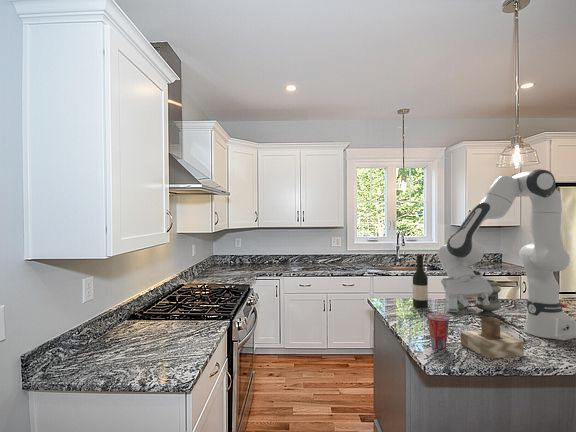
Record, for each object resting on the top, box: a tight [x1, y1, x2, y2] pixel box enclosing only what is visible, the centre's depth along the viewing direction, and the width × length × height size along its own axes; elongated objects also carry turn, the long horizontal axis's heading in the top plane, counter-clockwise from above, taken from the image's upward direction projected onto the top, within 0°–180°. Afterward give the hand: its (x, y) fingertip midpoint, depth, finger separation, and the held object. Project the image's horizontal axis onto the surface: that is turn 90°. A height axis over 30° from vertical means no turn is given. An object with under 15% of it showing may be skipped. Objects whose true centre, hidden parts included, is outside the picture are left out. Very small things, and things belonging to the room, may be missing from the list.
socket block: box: [460, 329, 525, 360], centre depth 137 cm, size 15×15×5 cm
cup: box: [426, 313, 451, 350], centre depth 141 cm, size 9×8×12 cm
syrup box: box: [444, 291, 460, 313], centre depth 193 cm, size 6×6×14 cm
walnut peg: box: [480, 316, 501, 340], centre depth 137 cm, size 4×4×12 cm
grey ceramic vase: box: [474, 278, 502, 319], centre depth 184 cm, size 12×12×18 cm
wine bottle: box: [412, 253, 429, 309], centre depth 204 cm, size 8×8×30 cm
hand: (477, 305), depth 144 cm, fingers open, 8 cm apart
